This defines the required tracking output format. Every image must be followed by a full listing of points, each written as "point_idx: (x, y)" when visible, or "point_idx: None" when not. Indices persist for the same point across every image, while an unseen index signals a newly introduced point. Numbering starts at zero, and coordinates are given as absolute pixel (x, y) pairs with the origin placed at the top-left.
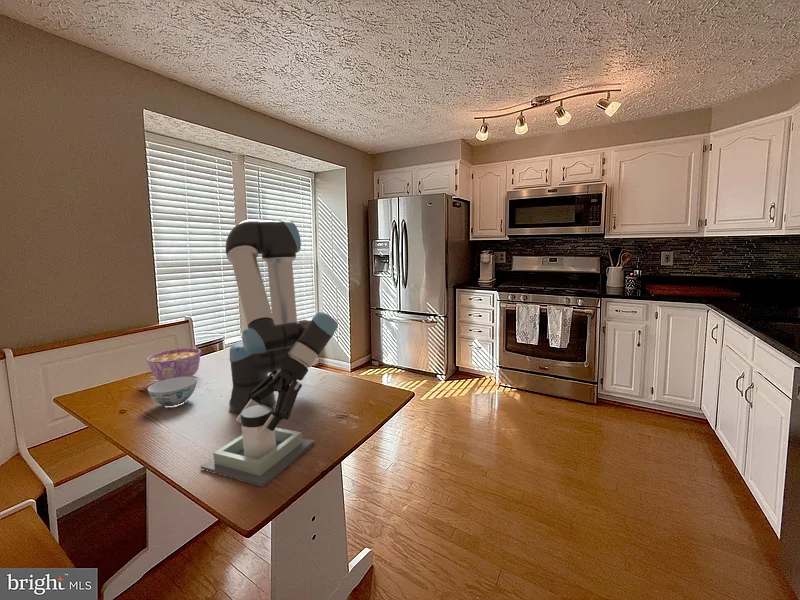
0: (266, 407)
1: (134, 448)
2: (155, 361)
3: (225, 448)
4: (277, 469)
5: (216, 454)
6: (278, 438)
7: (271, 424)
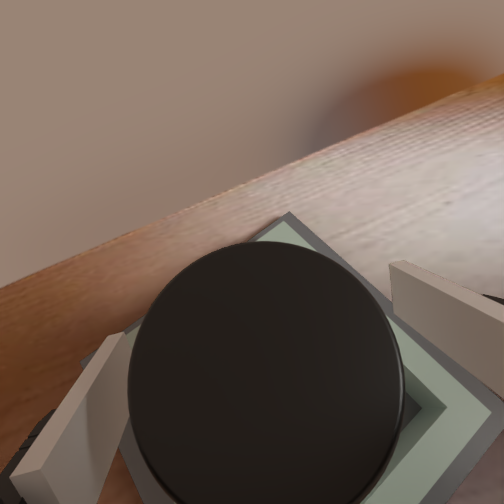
0: (290, 456)
1: (474, 92)
2: None
3: None
4: None
5: (273, 230)
6: None
7: (27, 440)
